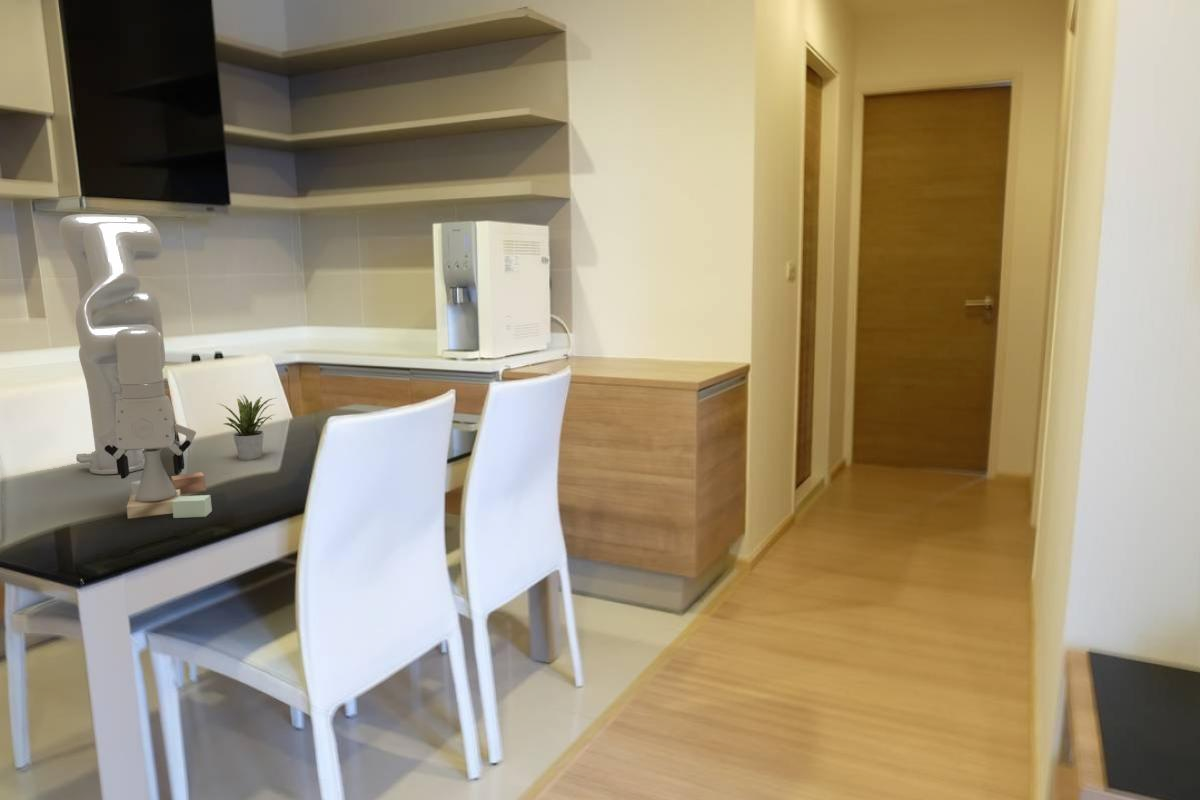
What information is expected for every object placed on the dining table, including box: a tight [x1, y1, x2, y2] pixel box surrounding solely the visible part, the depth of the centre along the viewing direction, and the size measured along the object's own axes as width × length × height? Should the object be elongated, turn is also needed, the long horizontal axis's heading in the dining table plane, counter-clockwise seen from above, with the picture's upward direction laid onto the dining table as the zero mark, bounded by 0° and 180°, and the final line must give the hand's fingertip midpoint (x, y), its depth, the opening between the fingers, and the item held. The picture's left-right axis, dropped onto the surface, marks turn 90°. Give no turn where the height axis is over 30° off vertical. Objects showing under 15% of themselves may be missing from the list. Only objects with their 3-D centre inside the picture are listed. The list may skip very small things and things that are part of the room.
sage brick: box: [172, 494, 213, 519], centre depth 159 cm, size 6×4×4 cm, turn 97°
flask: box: [135, 448, 178, 501], centre depth 162 cm, size 7×7×10 cm
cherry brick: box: [170, 471, 207, 495], centre depth 175 cm, size 6×4×4 cm, turn 126°
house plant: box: [216, 394, 278, 461], centre depth 202 cm, size 14×14×16 cm
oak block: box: [126, 489, 182, 519], centre depth 162 cm, size 9×9×3 cm
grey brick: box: [130, 479, 141, 495], centre depth 170 cm, size 6×4×4 cm, turn 71°
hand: (152, 474), depth 161 cm, fingers open, 9 cm apart
